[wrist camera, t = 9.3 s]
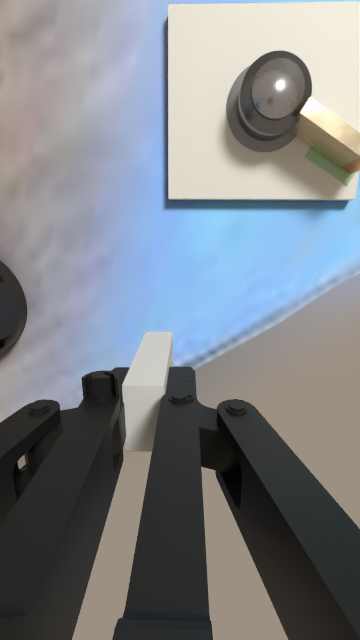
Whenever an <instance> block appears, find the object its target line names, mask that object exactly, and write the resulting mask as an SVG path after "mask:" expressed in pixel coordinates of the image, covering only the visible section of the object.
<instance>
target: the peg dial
mask: <svg viewBox="0 0 360 640" xmlns="http://www.w3.org/2000/svg"><path fill="white" fill-rule="evenodd" d="M311 95H312V80H311V76H310V73H309V70H308V68H307V66H306V65H305V63H304V62H303V61H302V60H301V59H300V58H299V57H298V56H296V55H295V54H293V53H290V52H287V51H281V50H279V51H272V52H269V53H266V54H264V55H262V56H261V57H259V58H258V59H257V60H256V61H255V62H253V64H252V65H251V66H250V67H249V69H248V70H247V72H246V74H245V76H244V79H243V82H242V85H241V88H240V91H239V94H238V98H237V103H236V112H237V118H238V121H239V124H240V125H241V127H242V129H243V130H244V131H245V132H246V133H247V134H248V135H249V136H250V137H252V138H254V139H256V140H259V141H273V140H276V139H278V138H280V137H282V136H284V135H285V134H286V133H287V132H289V131H290V132H292V133H293V134H295V135H296V136H297V137H299V138H300V139H302V140H303V141H305V142H306V143H307V144H309V145H310V146H312V147H313V148H314V149H316V150H317V151H319V152H320V153H322V154H323V155H324V156H326V157H327V158H329V159H330V160H331V161H333V162H334V163H336V164H337V165H338V166H340V167H341V168H343V169H344V170H346V171H347V172H348V173H350V174H353V173H355V172H358V171H360V133H359V132H358V131H357V130H355V129H354V128H353V127H351V126H350V125H348V124H347V123H346V122H344V121H343V120H342V119H340V118H339V117H337V116H336V115H335V114H333V113H332V112H331V111H329V110H328V109H327V108H325V107H324V106H322V105H321V104H320V103H318V102H317V101H316V100H314V99H313V98H311Z"/></svg>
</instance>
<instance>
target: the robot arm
mask: <svg viewBox="0 0 360 640" xmlns="http://www.w3.org/2000/svg"><path fill="white" fill-rule="evenodd" d="M26 317H27V305H26V299H25V296H24V292H23V290H22V287H21V285H20V283H19V282H18V280H17V278H16V277H15V276H14V274H13V273H12V272H11V271H10V269H9V268H8V267H7V266H6V265H5V264H3V263H2V262H1V261H0V353H1V352H3V351H5V350H6V349H8V348H9V347H11V346H12V345H13V344H14V343H15V342H16V341H17V340H18V338H19V337H20V335H21V333H22V331H23V329H24V326H25V323H26ZM82 387H83V398H84V399H83V400H82V402H81V404H80V405H79V407H78V408H73V409H68V410H62V411H60V404H59V403H58V402H57V401H53V400H38V401H35V402H33V403H30V404H28V405H26V406H24V407H22V408H21V409H20V410H18V411H17V412H15V413H14V414H12V415H11V416H10V417H8V418H7V419H5V420H4V421H2V422H1V423H0V640H72V637H73V634H74V630H75V627H76V623H77V620H78V616H79V613H80V609H81V606H82V602H83V599H84V595H85V592H86V588H87V585H88V581H89V578H90V574H91V571H92V567H93V564H94V560H95V557H96V554H97V550H98V547H99V543H100V539H101V536H102V532H103V529H104V526H105V522H106V519H107V515H108V512H109V508H110V505H111V501H112V498H113V494H114V491H115V487H116V484H117V480H118V477H119V473H120V469H121V467H122V463H123V445H124V442H125V443H126V451H152V455H151V461H150V467H149V472H148V478H147V484H146V490H145V496H144V502H143V508H142V514H141V520H140V525H139V531H138V536H137V542H136V549H135V554H134V560H133V566H132V571H131V577H130V583H129V589H128V595H127V601H126V606H125V611H124V614H123V617H122V618H120V619H118V622H117V624H116V627H115V630H114V635H113V639H112V640H213V636H212V625H211V621H210V616H209V603H208V584H207V566H206V547H205V529H204V510H203V494H202V493H203V492H202V474H201V466H202V467H205V468H209V469H213V470H216V477H217V480H218V482H219V484H220V487H221V489H222V491H223V493H224V496H225V498H226V500H227V502H228V505H229V507H230V509H231V511H232V514H233V516H234V518H235V520H236V522H237V525H238V527H239V529H240V532H241V534H242V536H243V538H244V541H245V542H246V545H247V547H248V549H249V552H250V554H251V556H252V559H253V561H254V563H255V565H256V568H257V570H258V572H259V574H260V577H261V579H262V581H263V583H264V586H265V588H266V590H267V592H268V595H269V597H270V599H271V601H272V603H273V606H274V608H275V610H276V612H277V615H278V617H279V619H280V622H281V624H282V626H283V628H284V631H285V633H286V635H287V637H288V639H289V640H360V529H359V528H358V526H357V525H356V524H355V523H354V522H353V521H352V519H351V518H350V517H349V516H348V515H347V514H346V513H345V511H344V510H343V509H342V508H341V507H340V506H339V504H338V503H337V502H336V501H335V500H334V499H333V498H332V496H331V495H330V494H329V493H328V492H327V490H326V489H325V488H324V487H323V486H322V485H321V484H320V482H319V481H318V480H317V479H316V478H315V477H314V475H313V474H312V473H311V472H310V471H309V470H308V468H307V467H306V466H305V465H304V464H303V463H302V462H301V460H300V459H299V458H298V457H297V456H296V455H295V454H294V452H293V451H292V450H291V449H290V448H289V446H288V445H287V444H286V443H285V442H284V441H283V439H282V438H281V437H280V436H279V435H278V434H277V432H276V431H275V430H274V429H273V428H272V427H271V425H270V424H269V423H268V422H267V421H266V420H265V418H264V417H263V416H262V415H261V414H260V413H259V411H258V410H257V409H256V408H255V407H254V406H253V405H252V404H250V403H248V402H245V401H243V400H238V399H234V400H227V401H223V402H221V403H220V404H219V405H218V407H217V409H213V408H209V407H206V406H204V405H202V404H200V403H199V402H198V400H197V397H196V380H195V371H194V370H193V369H192V368H191V367H173V332H146V333H145V335H144V338H143V340H142V342H141V344H140V346H139V349H138V351H137V353H136V355H135V358H134V360H133V362H132V364H131V366H130V368H127V367H116V368H114V369H113V370H111V371H96V372H92V373H89V374H87V375H85V376H83V377H82ZM23 455H25V461H26V464H25V465H24V466H23V467H22V468H21V469H19V468H18V462H17V461H18V460H19V459H20V458H21V457H22V456H23Z"/></svg>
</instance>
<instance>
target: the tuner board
mask: <svg viewBox="0 0 360 640" xmlns="http://www.w3.org/2000/svg"><path fill="white" fill-rule="evenodd" d="M279 50H281V51H287V52H290V53H293V54H295V55H296V56H298V57H299V58H300V59H301V60H302V61H303V62H304V63H305V65H306V66H307V68H308V70H309V73H310V76H311V80H312V95H311V98H313V99H314V100H316V101H317V102H318V103H320V104H321V105H322V106H324V107H325V108H327V109H328V110H329V111H331V112H332V113H333V114H335V115H336V116H337V117H339V118H340V119H342V120H343V121H344V122H346V123H347V124H348V125H350V126H351V127H353V128H354V129H355V130H357V131H358V132H359V133H360V2H297V3H229V4H168V199H169V200H336V201H350V200H354V199H355V198H356V191H357V184H358V177H359V171H358V172H355V173H353V174H350V173H348V172H347V171H346V170H344V169H343V168H341V167H340V166H338V165H337V164H336V163H334V162H333V161H331V160H330V159H329V158H327V157H326V156H324V155H323V154H322V153H320V152H319V151H317V150H316V149H314V148H313V147H312V146H310V145H309V144H307V143H306V142H305V141H303V140H302V139H300V138H299V137H297V136H296V135H295V134H293V133H292V132H290V131H289V132H287V133H286V134H285V135H284V136H282V137H280V138H278V139H276V140H273V141H259V140H256V139H254V138H252V137H250V136H249V135H248V134H247V133H246V132H245V131H244V130H243V129H242V127H241V125H240V124H239V121H238V118H237V112H236V103H237V98H238V94H239V91H240V88H241V85H242V82H243V79H244V76H245V74H246V72H247V70H248V69H249V67H250V66H251V65H252V64H253V62H255V61H256V60H257V59H258V58H259V57H261V56H262V55H264V54H266V53H269V52H272V51H279Z"/></svg>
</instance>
